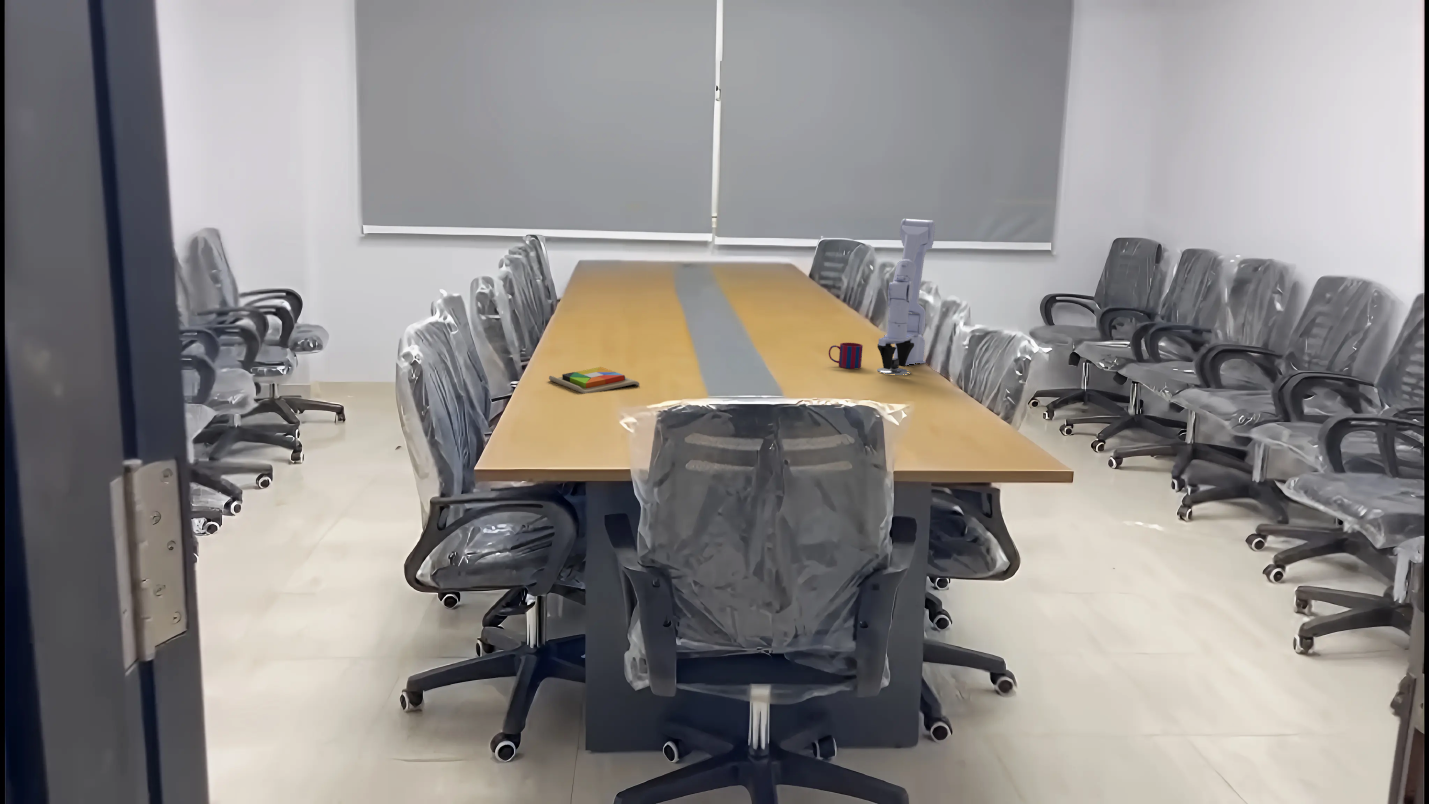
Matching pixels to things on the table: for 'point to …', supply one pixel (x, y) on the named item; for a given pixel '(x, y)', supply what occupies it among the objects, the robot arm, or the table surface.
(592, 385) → the wooden puzzle
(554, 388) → the table surface
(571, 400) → the table surface
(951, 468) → the table surface
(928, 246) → the robot arm
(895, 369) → the lid
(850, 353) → the mug
